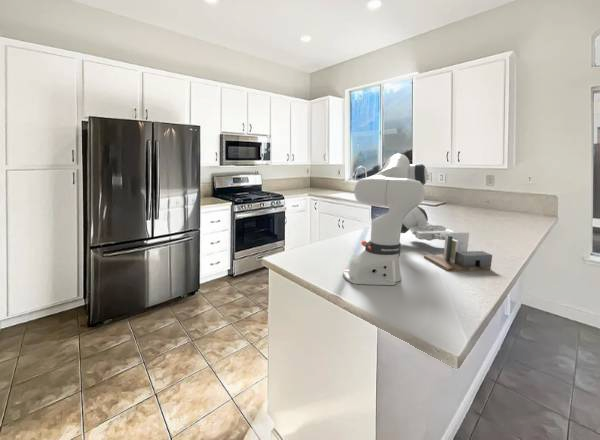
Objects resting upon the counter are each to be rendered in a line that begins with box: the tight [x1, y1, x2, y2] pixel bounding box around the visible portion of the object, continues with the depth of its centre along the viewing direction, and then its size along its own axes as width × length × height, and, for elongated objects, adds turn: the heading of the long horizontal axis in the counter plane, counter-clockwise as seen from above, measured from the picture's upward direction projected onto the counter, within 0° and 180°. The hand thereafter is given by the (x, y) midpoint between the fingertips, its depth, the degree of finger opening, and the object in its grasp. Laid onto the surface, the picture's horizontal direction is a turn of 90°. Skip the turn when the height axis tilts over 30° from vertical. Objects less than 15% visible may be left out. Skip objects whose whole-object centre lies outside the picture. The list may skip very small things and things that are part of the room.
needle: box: [445, 236, 453, 262], centre depth 141 cm, size 1×1×12 cm
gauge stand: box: [423, 237, 493, 272], centre depth 143 cm, size 20×19×11 cm
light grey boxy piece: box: [440, 231, 470, 252], centre depth 143 cm, size 14×12×11 cm
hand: (443, 238), depth 159 cm, fingers closed
